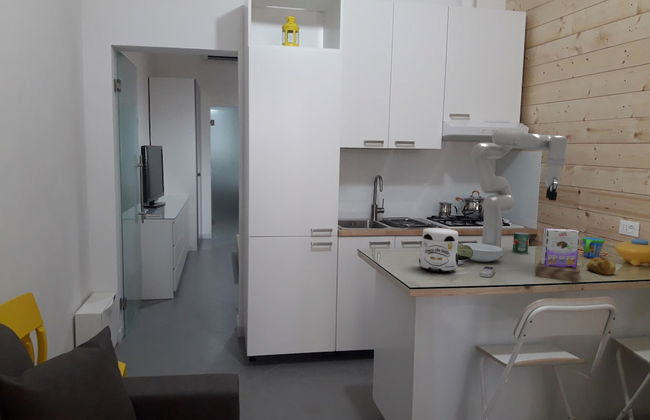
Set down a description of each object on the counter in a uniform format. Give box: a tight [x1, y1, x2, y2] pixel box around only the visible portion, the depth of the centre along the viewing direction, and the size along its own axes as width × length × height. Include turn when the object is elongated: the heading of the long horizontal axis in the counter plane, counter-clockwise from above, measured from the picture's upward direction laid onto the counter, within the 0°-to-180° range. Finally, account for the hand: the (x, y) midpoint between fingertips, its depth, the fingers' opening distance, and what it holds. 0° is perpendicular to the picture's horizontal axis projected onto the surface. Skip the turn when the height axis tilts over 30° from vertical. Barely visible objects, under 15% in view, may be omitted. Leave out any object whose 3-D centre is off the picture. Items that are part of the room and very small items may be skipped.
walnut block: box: [535, 260, 581, 283], centre depth 229 cm, size 17×14×5 cm
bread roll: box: [586, 256, 616, 276], centre depth 239 cm, size 13×10×8 cm
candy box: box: [540, 228, 580, 268], centre depth 228 cm, size 14×6×16 cm, turn 83°
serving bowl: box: [462, 242, 503, 263], centre depth 256 cm, size 21×21×7 cm
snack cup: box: [581, 236, 605, 259], centre depth 276 cm, size 16×11×10 cm
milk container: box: [418, 227, 459, 273], centre depth 229 cm, size 17×17×18 cm
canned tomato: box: [511, 231, 530, 255], centre depth 279 cm, size 8×8×11 cm
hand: (550, 199), depth 239 cm, fingers open, 9 cm apart
